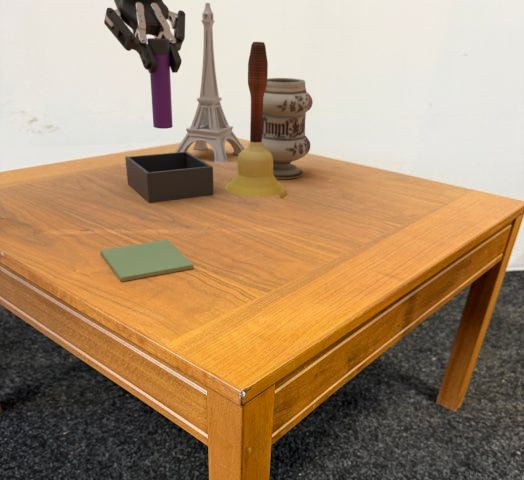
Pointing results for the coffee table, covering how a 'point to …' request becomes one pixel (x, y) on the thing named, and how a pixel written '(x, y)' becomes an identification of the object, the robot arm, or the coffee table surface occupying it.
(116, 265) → the mat
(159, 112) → the marker
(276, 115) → the apothecary jar
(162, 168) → the bin
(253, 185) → the handbell
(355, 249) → the coffee table surface
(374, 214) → the coffee table surface
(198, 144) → the eiffel tower
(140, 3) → the robot arm
